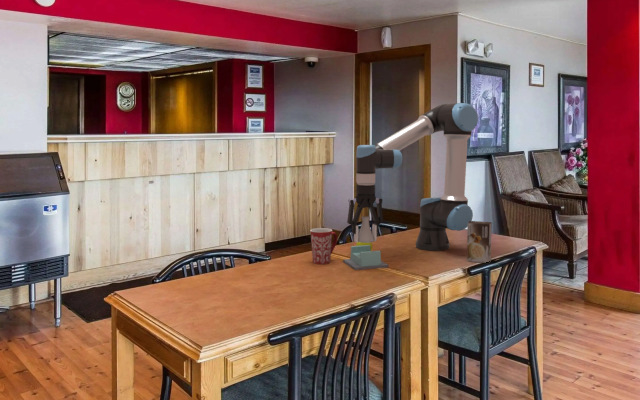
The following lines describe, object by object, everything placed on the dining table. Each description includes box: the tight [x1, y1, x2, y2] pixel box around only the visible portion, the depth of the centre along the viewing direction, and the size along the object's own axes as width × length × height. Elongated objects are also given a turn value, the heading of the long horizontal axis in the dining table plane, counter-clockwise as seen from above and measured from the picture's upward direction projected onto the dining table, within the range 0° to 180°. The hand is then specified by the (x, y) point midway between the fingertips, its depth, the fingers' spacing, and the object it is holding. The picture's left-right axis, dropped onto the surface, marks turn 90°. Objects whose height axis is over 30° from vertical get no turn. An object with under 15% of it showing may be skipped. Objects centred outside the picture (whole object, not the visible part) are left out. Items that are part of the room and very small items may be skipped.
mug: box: [309, 227, 338, 265], centre depth 230 cm, size 13×9×14 cm
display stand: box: [342, 245, 389, 271], centre depth 225 cm, size 14×14×6 cm
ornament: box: [355, 242, 373, 251], centre depth 243 cm, size 7×7×10 cm
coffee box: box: [466, 220, 493, 264], centre depth 230 cm, size 9×6×16 cm
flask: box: [358, 216, 375, 243], centre depth 224 cm, size 7×7×10 cm
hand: (365, 241), depth 224 cm, fingers closed on flask, 7 cm apart
